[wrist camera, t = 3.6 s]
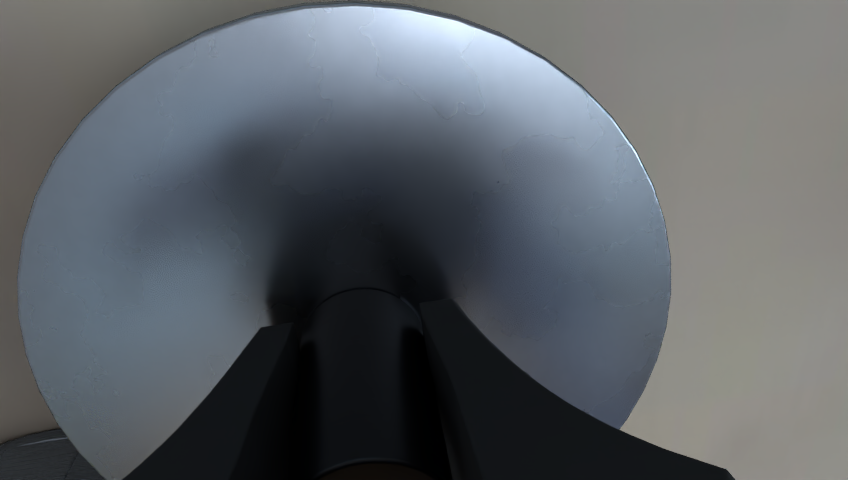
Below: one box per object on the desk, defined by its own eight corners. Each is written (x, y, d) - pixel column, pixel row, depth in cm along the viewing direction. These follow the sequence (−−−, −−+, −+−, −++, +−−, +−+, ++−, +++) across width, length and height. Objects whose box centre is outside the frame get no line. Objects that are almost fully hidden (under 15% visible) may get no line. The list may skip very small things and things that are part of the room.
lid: (639, 480, 17) (764, 713, 12) (148, 564, 16) (60, 847, 11) (663, -46, 11) (915, -32, 6) (-73, 46, 11) (-439, 145, 6)
